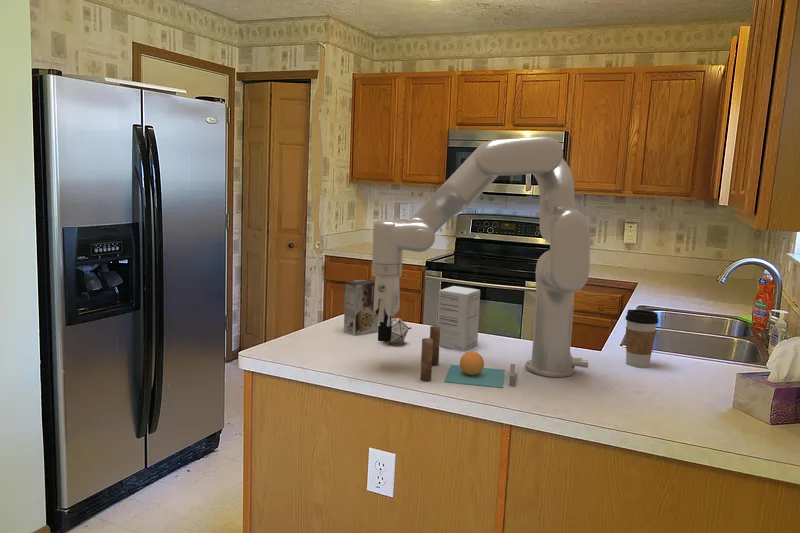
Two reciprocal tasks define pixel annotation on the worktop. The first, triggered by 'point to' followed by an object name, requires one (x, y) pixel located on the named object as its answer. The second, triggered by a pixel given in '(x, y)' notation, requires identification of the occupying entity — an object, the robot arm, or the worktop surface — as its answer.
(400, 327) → the game die
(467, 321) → the supplement box
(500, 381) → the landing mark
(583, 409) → the worktop surface
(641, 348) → the coffee cup
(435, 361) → the post far
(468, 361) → the ball
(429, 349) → the post near
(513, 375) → the stopper strip
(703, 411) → the worktop surface
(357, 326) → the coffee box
